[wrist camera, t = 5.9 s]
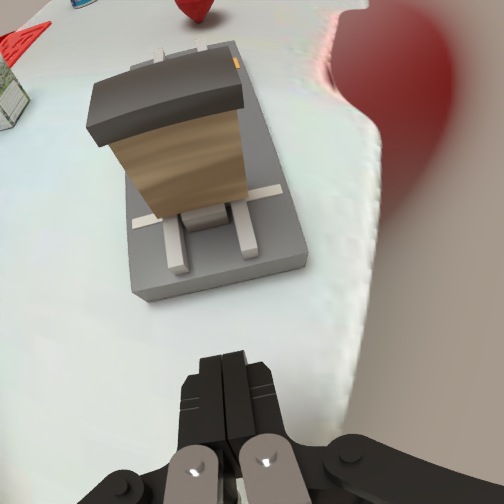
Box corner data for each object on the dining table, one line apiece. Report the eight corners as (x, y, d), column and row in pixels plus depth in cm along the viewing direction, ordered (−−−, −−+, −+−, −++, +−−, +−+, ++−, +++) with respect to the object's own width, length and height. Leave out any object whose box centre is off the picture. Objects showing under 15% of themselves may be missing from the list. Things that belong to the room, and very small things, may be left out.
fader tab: (256, 216, 22) (242, 86, 11) (162, 238, 22) (85, 131, 11) (245, 174, 23) (227, 43, 13) (158, 195, 23) (94, 81, 13)
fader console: (304, 266, 24) (310, 243, 20) (147, 302, 23) (122, 286, 19) (236, 60, 33) (233, 29, 29) (137, 84, 33) (126, 56, 29)
